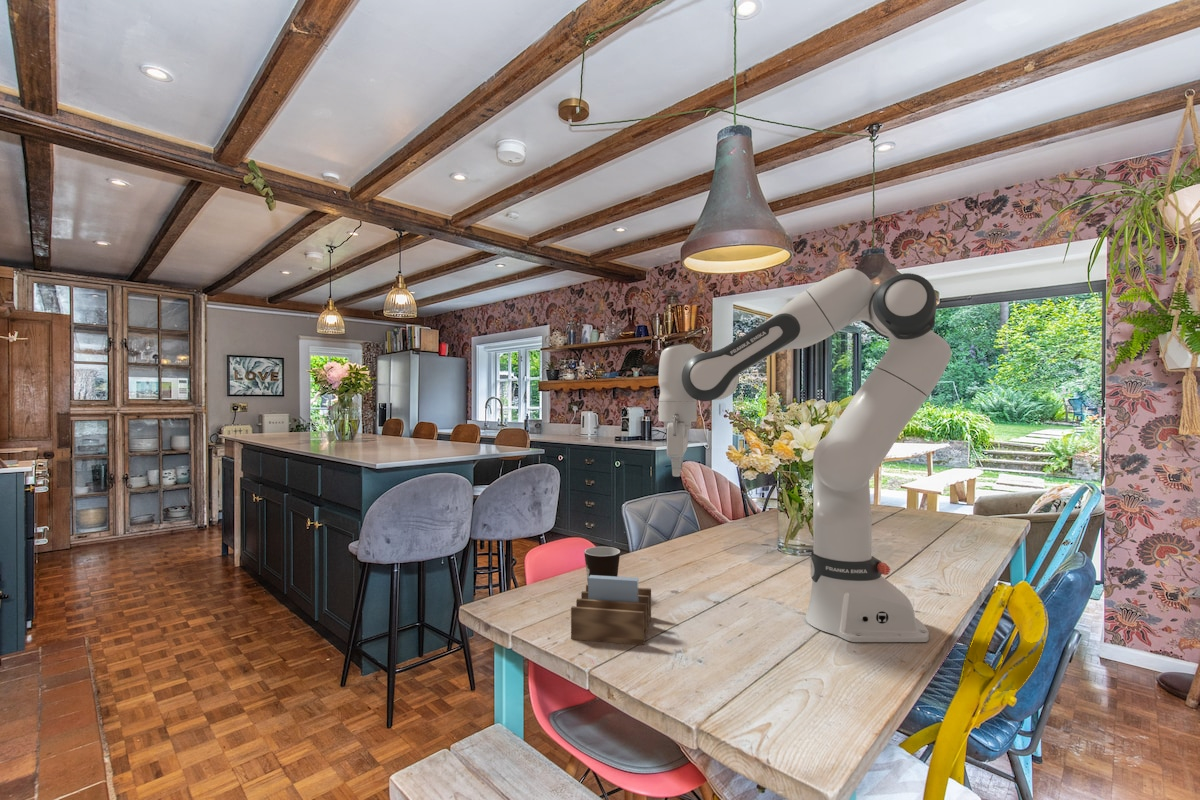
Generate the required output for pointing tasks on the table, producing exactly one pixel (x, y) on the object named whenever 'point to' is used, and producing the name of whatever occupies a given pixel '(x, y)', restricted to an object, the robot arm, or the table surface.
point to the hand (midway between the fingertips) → (677, 473)
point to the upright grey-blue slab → (613, 588)
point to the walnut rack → (611, 619)
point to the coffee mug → (602, 561)
